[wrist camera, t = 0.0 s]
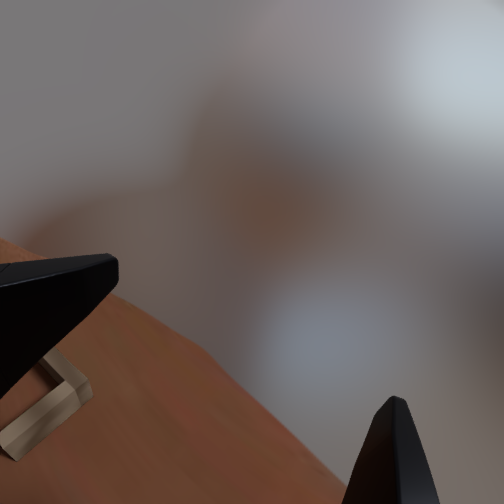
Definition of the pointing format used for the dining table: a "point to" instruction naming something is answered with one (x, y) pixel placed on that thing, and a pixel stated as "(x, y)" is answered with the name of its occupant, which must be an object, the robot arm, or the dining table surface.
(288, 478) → the dining table surface
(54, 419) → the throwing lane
